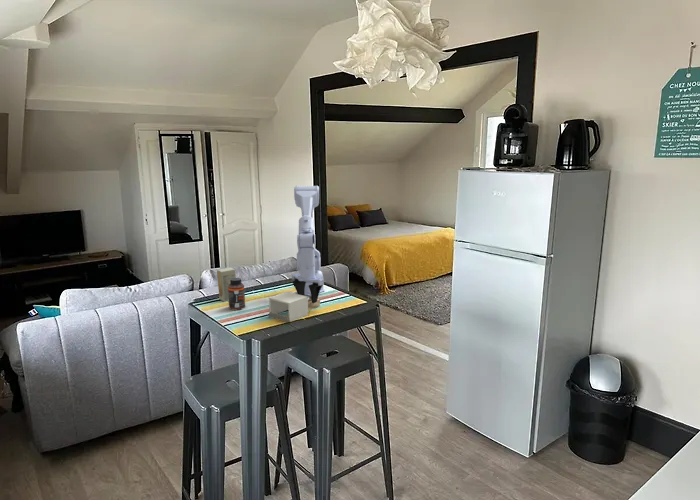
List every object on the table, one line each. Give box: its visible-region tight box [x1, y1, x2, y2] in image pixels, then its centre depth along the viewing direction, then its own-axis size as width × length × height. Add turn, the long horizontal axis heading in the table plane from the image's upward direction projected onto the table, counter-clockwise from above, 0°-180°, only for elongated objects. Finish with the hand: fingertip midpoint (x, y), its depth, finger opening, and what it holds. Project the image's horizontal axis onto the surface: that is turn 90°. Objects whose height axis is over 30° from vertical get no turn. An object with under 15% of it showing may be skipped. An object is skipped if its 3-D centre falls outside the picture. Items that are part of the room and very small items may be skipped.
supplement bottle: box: [228, 277, 246, 311], centre depth 180 cm, size 6×6×11 cm
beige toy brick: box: [308, 295, 321, 312], centre depth 180 cm, size 9×4×5 cm, turn 141°
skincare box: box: [216, 267, 237, 302], centre depth 191 cm, size 6×4×12 cm
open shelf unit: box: [268, 291, 309, 323], centre depth 172 cm, size 10×10×7 cm
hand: (308, 300), depth 180 cm, fingers open, 6 cm apart
